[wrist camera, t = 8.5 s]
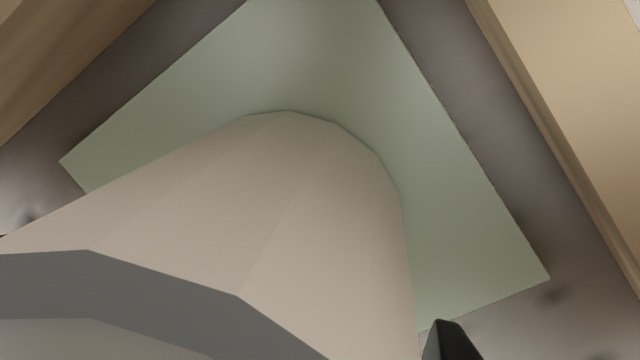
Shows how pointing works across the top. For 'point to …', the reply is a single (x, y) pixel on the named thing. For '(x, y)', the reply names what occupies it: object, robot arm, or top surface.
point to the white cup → (220, 256)
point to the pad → (350, 114)
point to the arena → (501, 33)
